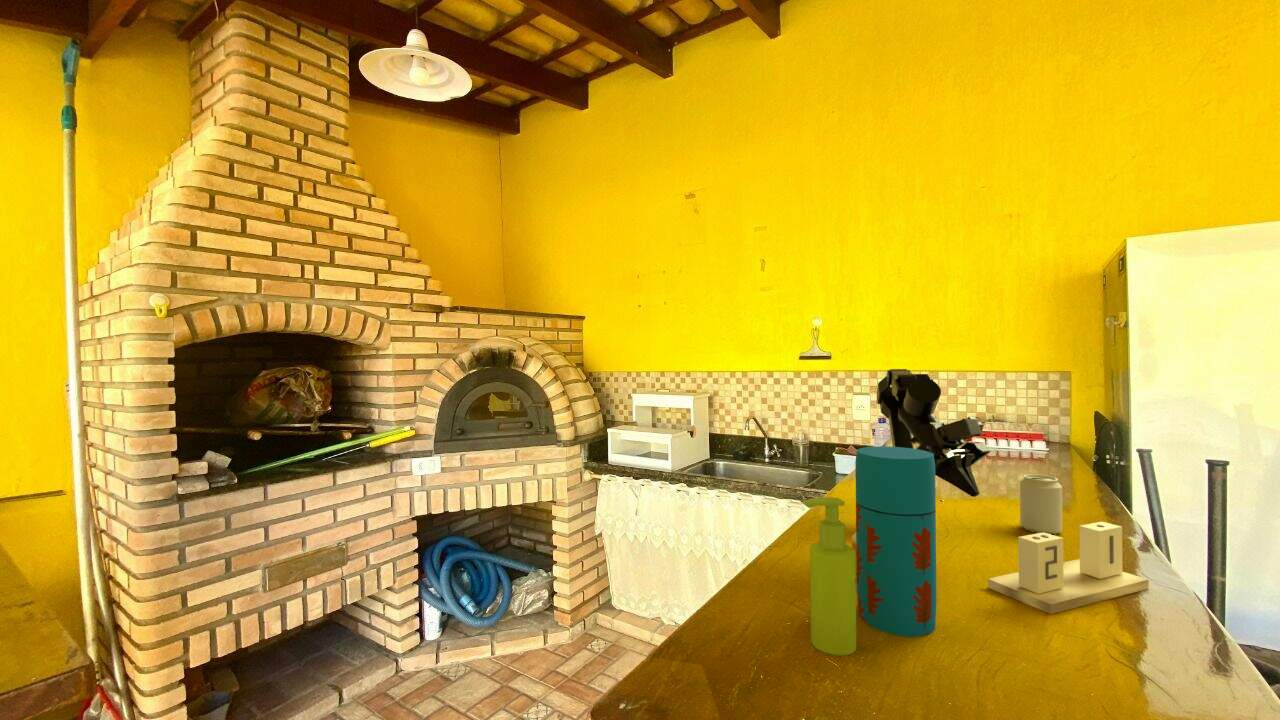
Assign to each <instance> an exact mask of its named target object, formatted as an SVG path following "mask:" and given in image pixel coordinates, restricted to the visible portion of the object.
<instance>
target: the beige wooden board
mask: <svg viewBox="0 0 1280 720" xmlns="http://www.w3.org/2000/svg"><path fill="white" fill-rule="evenodd" d="M1063 573H1064V588H1060V589H1055V590H1051V591H1047V592H1043V593H1039V594H1038V593H1035V592H1033V591H1030V590H1028V589H1025V588H1023V587H1020V586H1019V571H1017V572H1012V573H1008V574H1003V575H999V576H994V577H990V578H987V588H989V589H991V590H993V591H996V592H998V593H1000V594H1003V595H1005V596H1007V597H1010V598H1012V599H1014V600H1016V601H1019V602H1021V603H1023V604H1026V605H1029V606H1030V607H1033V608H1036V609H1038V610H1040V611H1042V612H1045V613H1046V614H1050V615H1053V614H1056V613H1057V614H1058V613H1060V612H1061V613H1062V612H1064V611H1069V610H1072V609H1076V608H1079V607H1083V606H1087V605H1092V604H1095V603H1099V602H1104V601H1107V600H1110V599H1114V598H1119V597H1122V596H1125V595H1126V596H1127V595H1129V594H1133V593H1137V592H1141V591H1145V590H1149V586H1150V585H1149V584H1150V582H1149V579H1147V578H1144V577H1141V576H1137V575H1136V574H1131V573H1128V572H1125V571H1123V573H1122V574H1118V575H1114V576H1110V577H1106V578H1101V579H1099V578H1096V577H1093V576H1090V575H1087V574H1084V573H1081V572H1080V558H1077V559H1073V560H1068V561H1063Z"/></svg>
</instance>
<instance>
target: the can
mask: <svg viewBox="0 0 1280 720" xmlns="http://www.w3.org/2000/svg"><path fill="white" fill-rule="evenodd" d="M1022 477H1023V478H1022V480H1020V481H1019V515H1020V516H1019V524H1020V525H1021V526H1022V527H1023V528H1024V530H1026V529H1027V530H1026V531H1028V530H1029V531H1028V532H1030V531H1032V532H1031V533H1034V532H1036V533H1035V534H1037V533H1043V532H1044V533H1048V534H1054V535H1057V534H1058V533H1060V532H1062V531H1063V487H1062V485H1061V484H1060V483H1059V482H1058V481H1059V479H1058V478H1057V477H1056V476H1049V475H1045V474H1029V473H1028V474H1024V475H1023V476H1022Z"/></svg>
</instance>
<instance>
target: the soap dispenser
mask: <svg viewBox="0 0 1280 720" xmlns="http://www.w3.org/2000/svg"><path fill="white" fill-rule="evenodd" d="M801 504H803V505H804V506H805V507H807V508H808V509H811V508H815V507H821V506H822V507H823V506H825V509H824V510H825V518H824V519H823V520H821V521H819V523H818V525H819V526H818V529H819V530H818V535H819V536H818V537H819V539H818V541H819V542H815V543H812V544H811V545H810V546H809V562H810V563H809V567H810V569H809V570H810V571H809V572H810V573H809V574H810V575H809V576H810V581H809V582H810V583H809V584H810V641H811V644H812V646H813V647H814V648H816V649H817V650H819V651H820V652H822V653H825V654H827V653H828V655H832V656H849V655H852V654H854V653H855V652H856V650H857V578H856V558H855V550H854V549H853V548H852V546H849V545H847V544H846V523H844V522H843V521H841V520H840V519H839V517H840V515H839V506H840V507H845V501H844V500H843V499H841V498H839V497H825V496H823V497H821V496H820V497H813V498H809V499H805V500H802V501H801Z"/></svg>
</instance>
